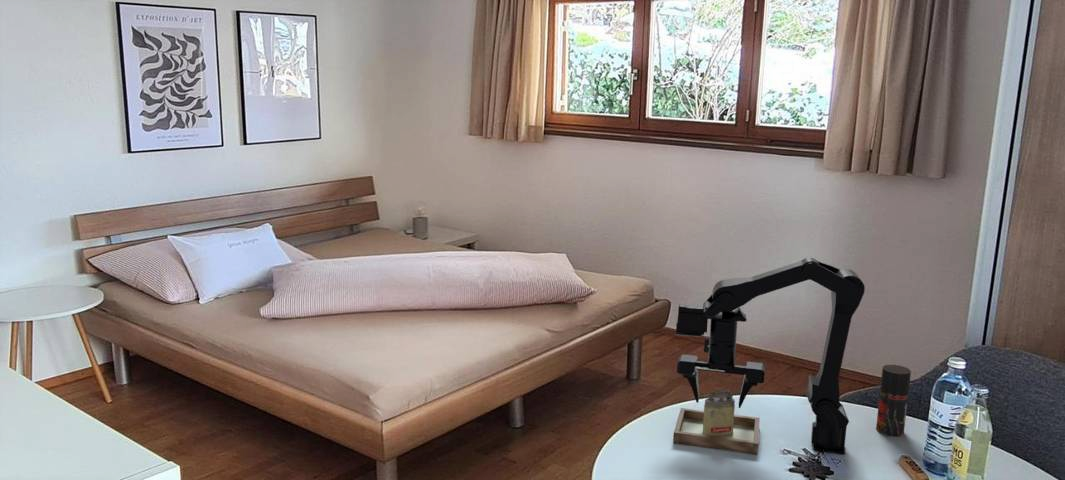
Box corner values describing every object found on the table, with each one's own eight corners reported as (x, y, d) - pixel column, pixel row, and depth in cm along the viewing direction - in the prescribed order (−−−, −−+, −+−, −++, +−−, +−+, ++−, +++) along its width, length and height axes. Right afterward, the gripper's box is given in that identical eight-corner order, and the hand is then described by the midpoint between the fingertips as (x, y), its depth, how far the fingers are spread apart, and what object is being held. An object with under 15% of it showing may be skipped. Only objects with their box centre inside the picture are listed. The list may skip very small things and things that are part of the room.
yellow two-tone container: (706, 438, 188) (708, 396, 186) (699, 431, 192) (701, 389, 189) (735, 435, 189) (738, 393, 187) (728, 428, 193) (731, 387, 191)
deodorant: (905, 438, 191) (912, 375, 188) (877, 434, 193) (884, 372, 189) (901, 427, 197) (908, 366, 193) (874, 424, 198) (881, 363, 195)
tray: (758, 428, 195) (759, 417, 194) (757, 454, 182) (758, 443, 181) (680, 418, 200) (680, 407, 199) (673, 443, 187) (673, 432, 186)
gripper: (767, 331, 191) (762, 396, 194) (684, 323, 196) (680, 386, 199) (766, 347, 180) (761, 415, 184) (678, 337, 185) (674, 404, 189)
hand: (718, 404), depth 189 cm, fingers open, 9 cm apart
